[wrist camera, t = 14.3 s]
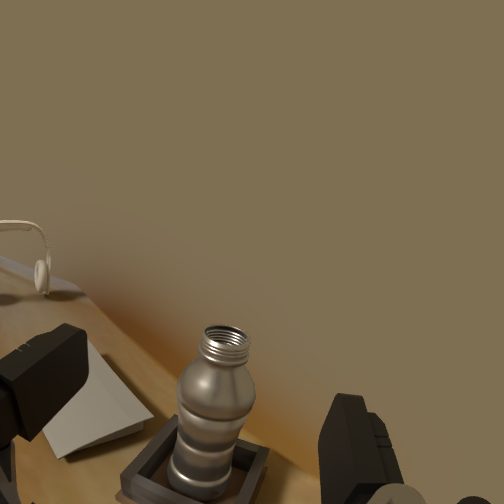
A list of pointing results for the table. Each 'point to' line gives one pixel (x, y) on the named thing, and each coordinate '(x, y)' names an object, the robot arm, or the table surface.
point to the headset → (41, 267)
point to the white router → (96, 411)
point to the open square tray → (156, 479)
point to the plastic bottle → (211, 413)
